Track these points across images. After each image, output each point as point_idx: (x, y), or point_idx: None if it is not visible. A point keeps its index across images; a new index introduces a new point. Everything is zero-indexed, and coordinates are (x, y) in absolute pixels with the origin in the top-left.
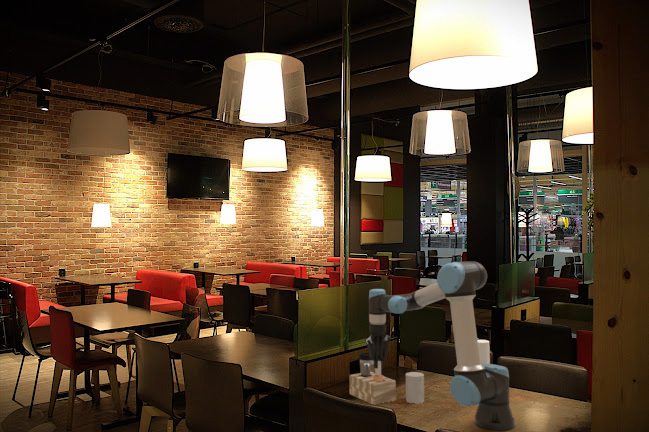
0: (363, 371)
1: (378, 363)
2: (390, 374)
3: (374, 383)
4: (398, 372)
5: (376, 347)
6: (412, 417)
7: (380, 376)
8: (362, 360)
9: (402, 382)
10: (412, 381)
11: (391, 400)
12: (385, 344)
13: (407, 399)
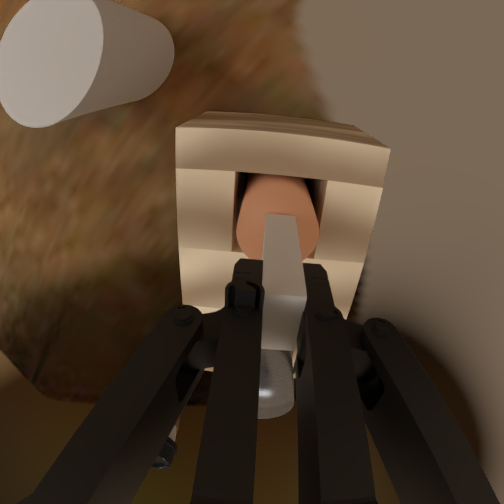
0: (291, 353)
1: (303, 281)
2: (62, 364)
3: (365, 170)
4: (38, 359)
5: (362, 488)
6: None
7: (282, 203)
8: (171, 438)
9: (51, 296)
10: (112, 8)
11: (236, 113)
12: (104, 494)
13: (169, 57)
